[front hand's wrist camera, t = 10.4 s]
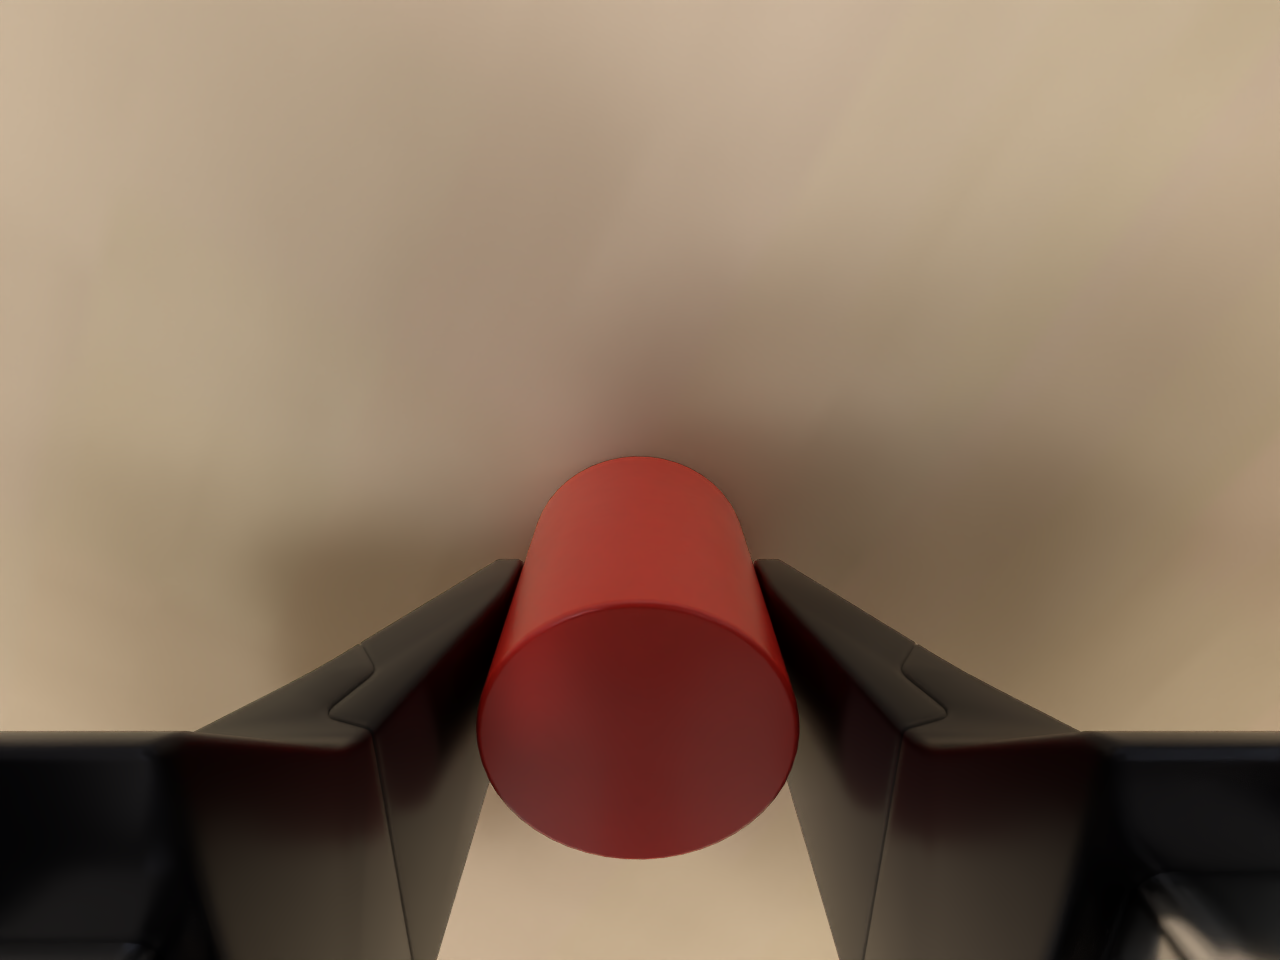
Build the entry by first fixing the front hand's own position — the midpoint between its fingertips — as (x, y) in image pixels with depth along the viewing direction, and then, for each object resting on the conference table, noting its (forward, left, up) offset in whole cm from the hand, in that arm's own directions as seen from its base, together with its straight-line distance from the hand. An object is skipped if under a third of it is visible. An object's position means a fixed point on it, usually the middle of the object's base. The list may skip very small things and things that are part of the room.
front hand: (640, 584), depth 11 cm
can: (0, 0, -1) cm, 1 cm away
